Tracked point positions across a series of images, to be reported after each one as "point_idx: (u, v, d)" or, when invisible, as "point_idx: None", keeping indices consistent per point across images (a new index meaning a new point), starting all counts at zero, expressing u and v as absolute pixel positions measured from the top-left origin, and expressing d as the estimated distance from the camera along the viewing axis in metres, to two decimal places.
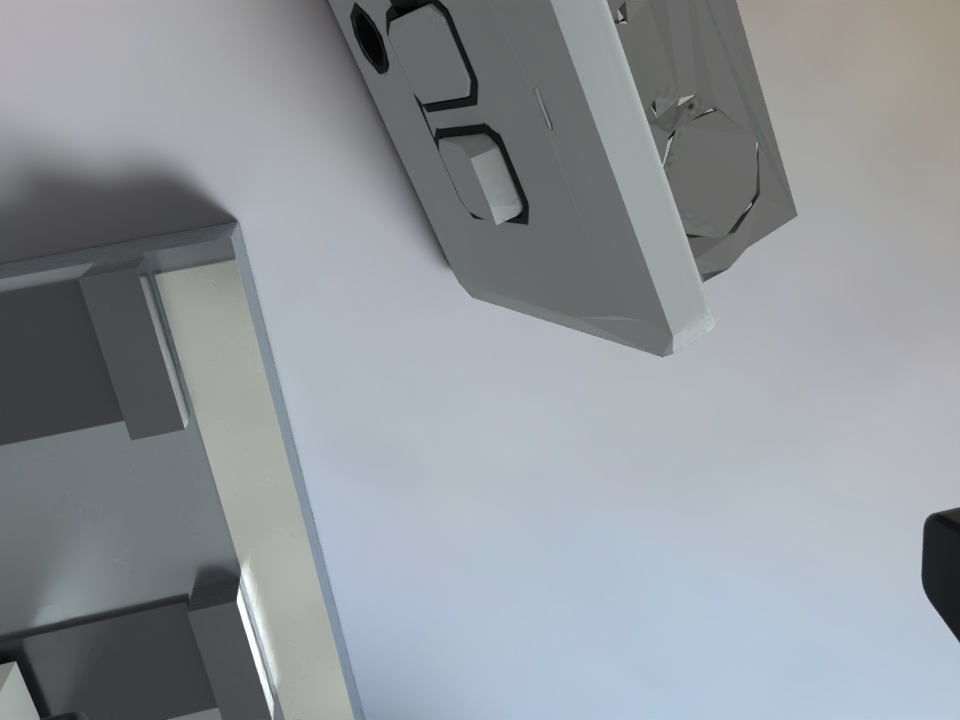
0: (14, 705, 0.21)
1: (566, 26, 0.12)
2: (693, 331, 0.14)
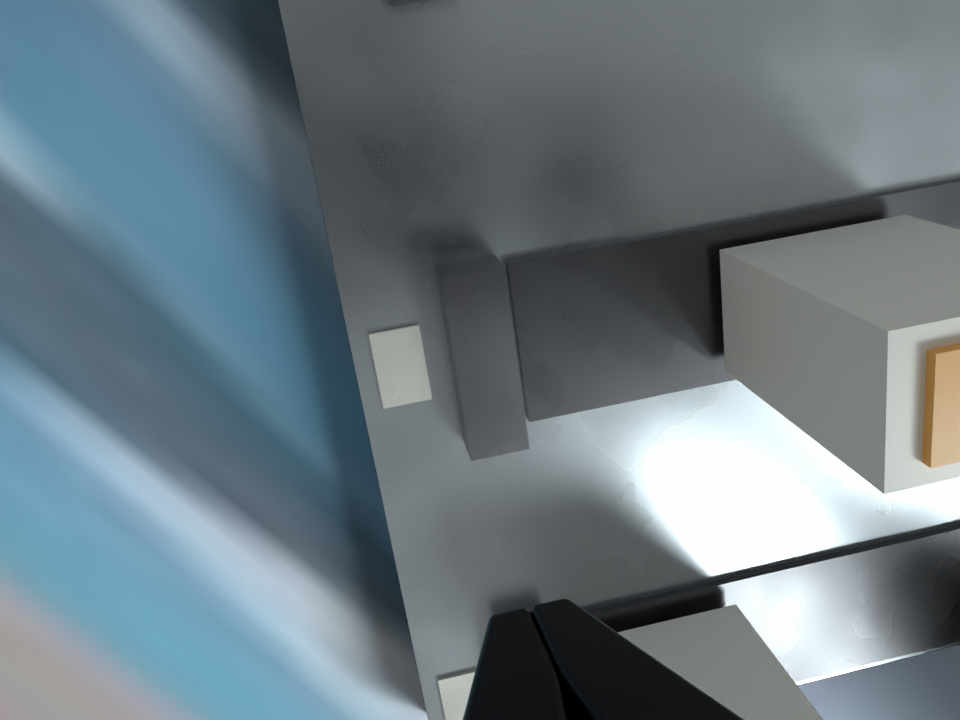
0: None
1: None
2: None
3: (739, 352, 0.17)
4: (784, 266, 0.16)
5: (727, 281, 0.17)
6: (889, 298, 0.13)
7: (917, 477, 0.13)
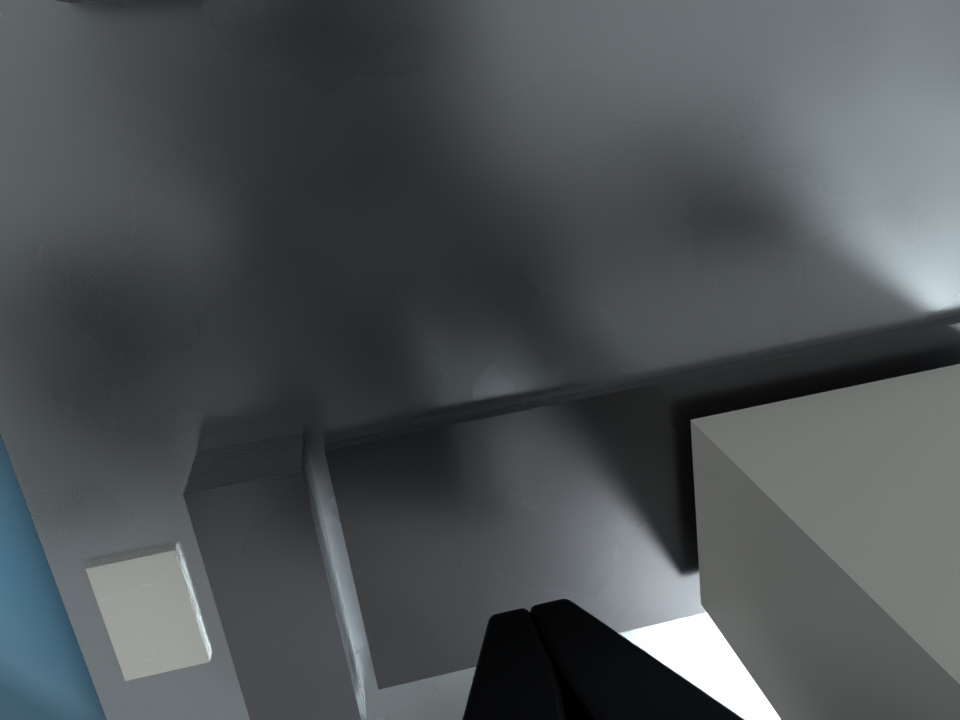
0: None
1: None
2: None
3: (723, 594, 0.10)
4: (804, 483, 0.08)
5: (703, 475, 0.10)
6: None
7: None
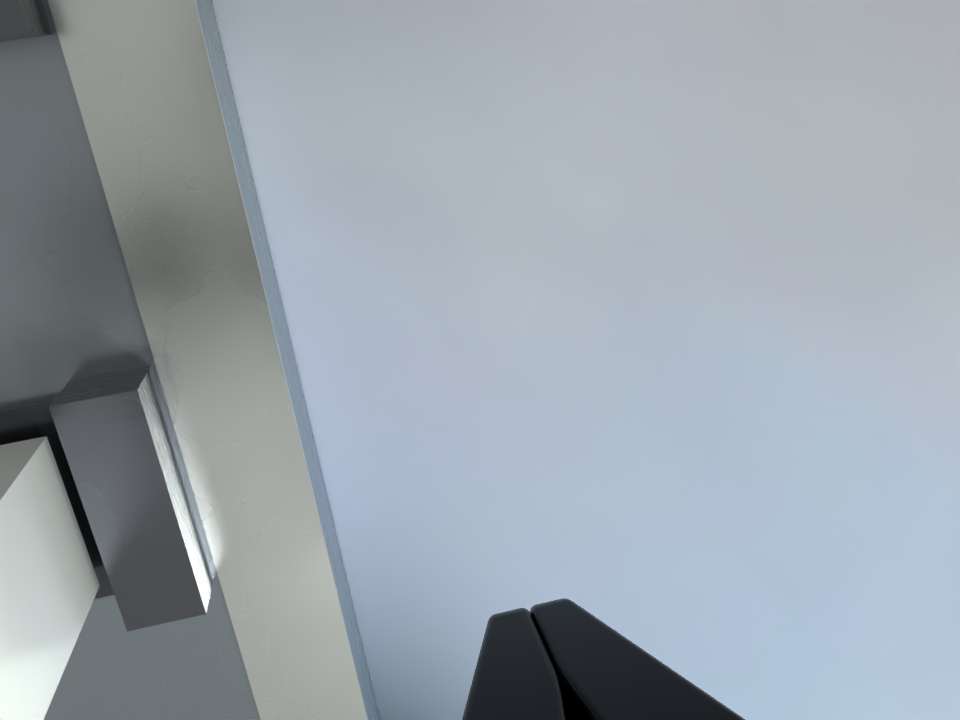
0: (45, 503, 0.12)
1: None
2: None
3: None
4: None
5: None
6: None
7: None
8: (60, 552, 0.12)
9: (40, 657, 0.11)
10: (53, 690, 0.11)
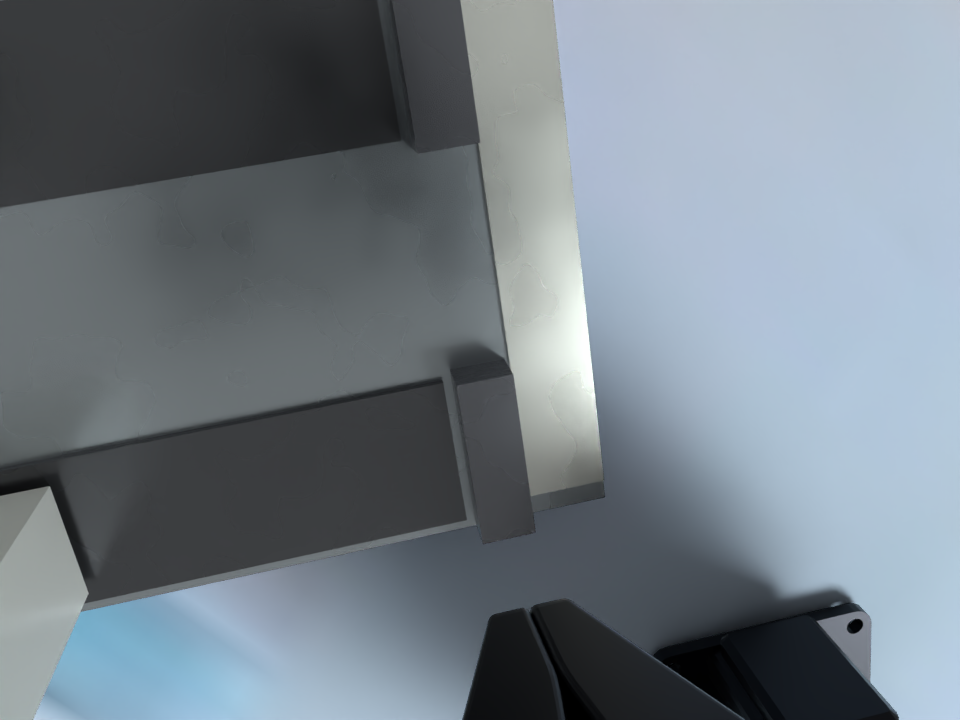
0: None
1: None
2: None
3: None
4: None
5: None
6: None
7: None
8: None
9: None
10: None
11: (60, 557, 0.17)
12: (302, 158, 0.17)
